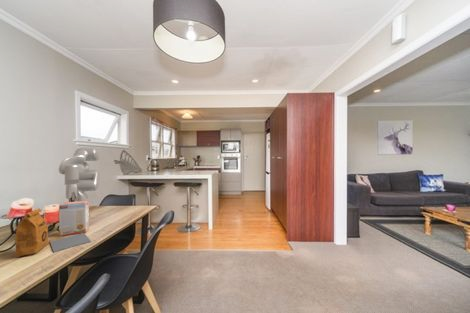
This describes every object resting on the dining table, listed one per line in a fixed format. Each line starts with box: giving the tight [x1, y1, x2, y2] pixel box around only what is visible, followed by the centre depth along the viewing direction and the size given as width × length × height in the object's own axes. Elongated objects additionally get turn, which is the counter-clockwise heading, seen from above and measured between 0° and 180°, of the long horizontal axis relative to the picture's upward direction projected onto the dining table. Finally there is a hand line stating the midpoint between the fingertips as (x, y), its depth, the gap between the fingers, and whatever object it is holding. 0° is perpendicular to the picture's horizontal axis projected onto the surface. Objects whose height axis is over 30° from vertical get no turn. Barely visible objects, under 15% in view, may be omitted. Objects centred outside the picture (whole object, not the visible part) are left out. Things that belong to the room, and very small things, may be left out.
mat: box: [49, 233, 92, 253], centre depth 108 cm, size 18×16×1 cm
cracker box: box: [58, 200, 90, 237], centre depth 121 cm, size 14×6×21 cm, turn 112°
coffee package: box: [14, 208, 49, 258], centre depth 98 cm, size 10×12×22 cm
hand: (71, 207), depth 127 cm, fingers closed
